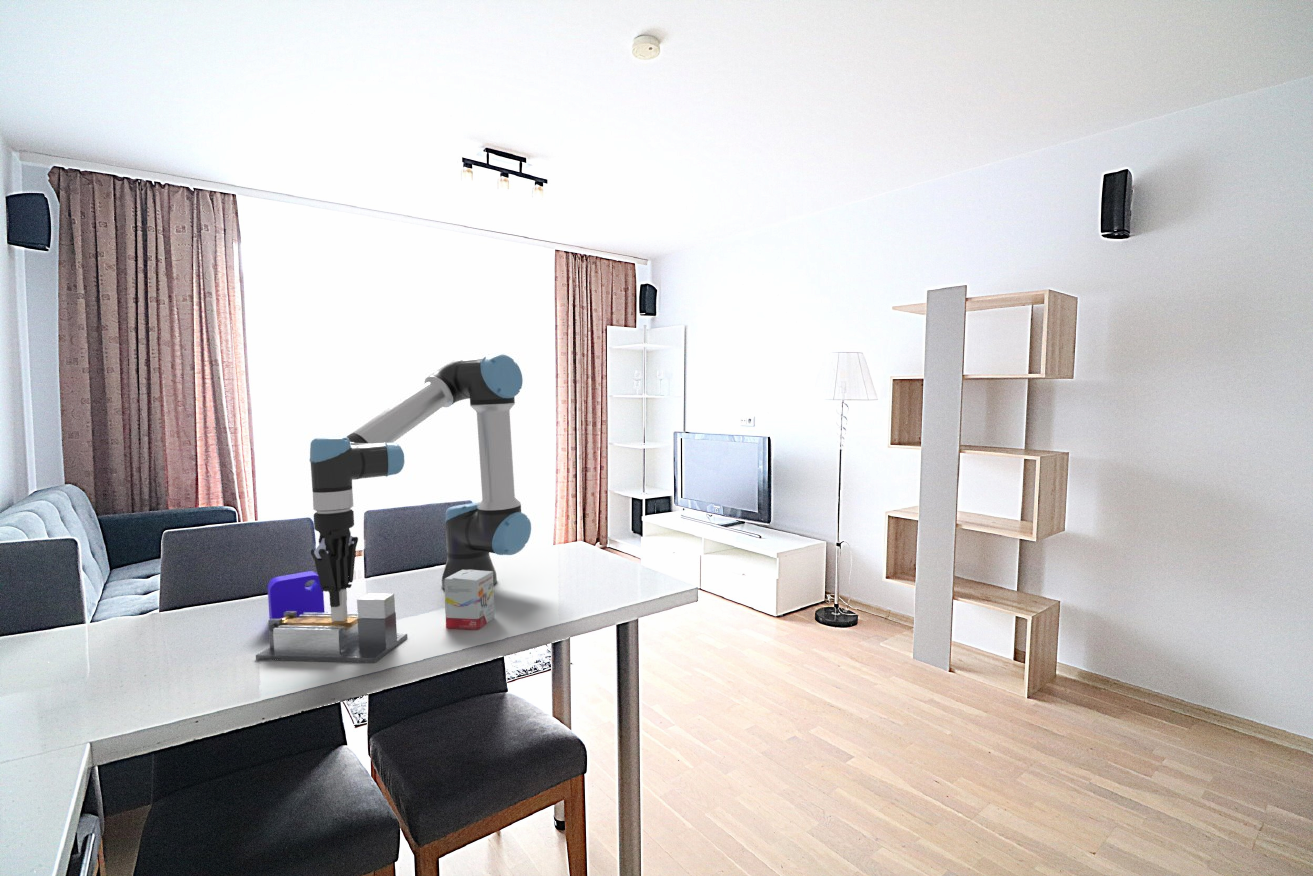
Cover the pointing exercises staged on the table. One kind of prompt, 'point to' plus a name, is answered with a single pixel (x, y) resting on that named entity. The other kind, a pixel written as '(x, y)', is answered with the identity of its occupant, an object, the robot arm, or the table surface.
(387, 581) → the table surface
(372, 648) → the base
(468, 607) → the ink box
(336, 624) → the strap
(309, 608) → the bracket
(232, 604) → the table surface
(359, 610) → the white block
